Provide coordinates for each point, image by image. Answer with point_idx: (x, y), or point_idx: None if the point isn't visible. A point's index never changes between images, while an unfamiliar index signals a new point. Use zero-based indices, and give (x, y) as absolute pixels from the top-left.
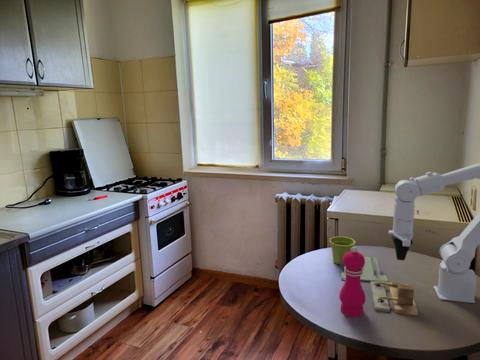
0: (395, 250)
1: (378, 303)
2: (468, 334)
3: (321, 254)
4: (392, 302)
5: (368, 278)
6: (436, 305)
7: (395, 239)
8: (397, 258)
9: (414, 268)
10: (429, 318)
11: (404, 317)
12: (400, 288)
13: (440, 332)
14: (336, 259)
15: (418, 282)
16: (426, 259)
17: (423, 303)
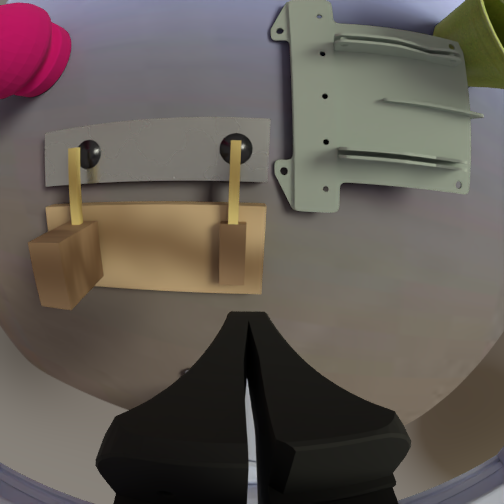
0: (282, 341)
1: (67, 145)
2: (43, 363)
3: None
4: (111, 202)
5: (305, 115)
6: (145, 348)
7: (158, 479)
8: (227, 317)
9: (420, 333)
10: None
11: (39, 231)
12: (29, 249)
13: (19, 309)
14: (444, 18)
15: (313, 333)
16: (461, 366)
17: (143, 314)
